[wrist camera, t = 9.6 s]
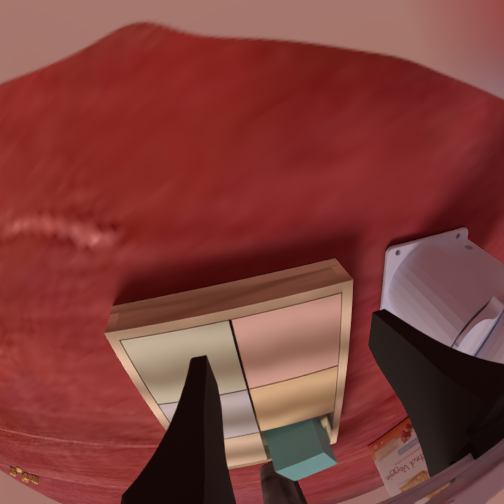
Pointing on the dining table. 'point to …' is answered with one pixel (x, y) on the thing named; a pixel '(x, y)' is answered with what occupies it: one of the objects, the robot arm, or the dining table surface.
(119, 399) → the dining table surface
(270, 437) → the teal block
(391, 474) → the cracker box
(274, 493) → the beverage cup
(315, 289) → the puzzle board
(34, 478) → the popcorn pieces
